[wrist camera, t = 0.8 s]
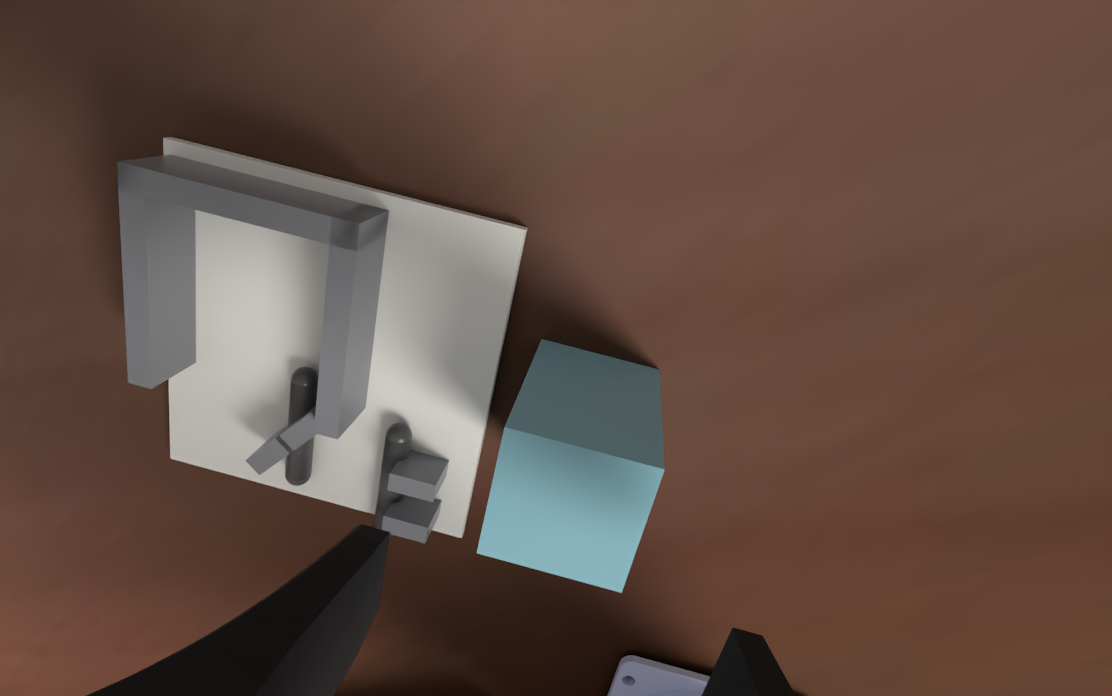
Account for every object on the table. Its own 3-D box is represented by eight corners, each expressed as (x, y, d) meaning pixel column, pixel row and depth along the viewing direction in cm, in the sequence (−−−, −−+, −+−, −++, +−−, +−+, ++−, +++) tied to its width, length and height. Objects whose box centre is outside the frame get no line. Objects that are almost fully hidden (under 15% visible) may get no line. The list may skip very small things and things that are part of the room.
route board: (462, 540, 24) (447, 577, 23) (177, 462, 25) (140, 491, 23) (527, 227, 20) (515, 241, 18) (171, 137, 20) (123, 141, 18)
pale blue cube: (623, 483, 23) (615, 609, 17) (514, 454, 23) (472, 570, 17) (659, 369, 21) (664, 469, 15) (541, 338, 21) (504, 426, 15)
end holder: (370, 403, 23) (337, 439, 20) (182, 352, 23) (128, 382, 21) (393, 207, 20) (359, 223, 17) (179, 153, 20) (116, 161, 18)
